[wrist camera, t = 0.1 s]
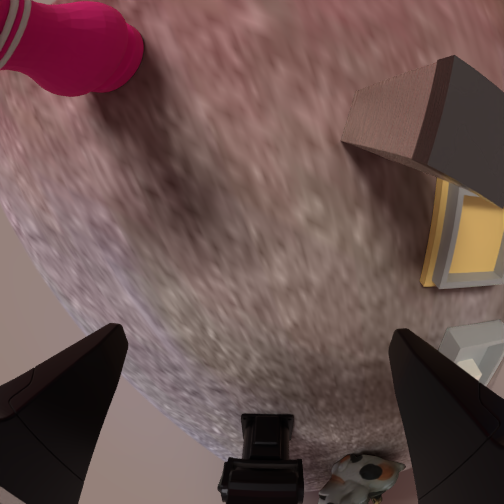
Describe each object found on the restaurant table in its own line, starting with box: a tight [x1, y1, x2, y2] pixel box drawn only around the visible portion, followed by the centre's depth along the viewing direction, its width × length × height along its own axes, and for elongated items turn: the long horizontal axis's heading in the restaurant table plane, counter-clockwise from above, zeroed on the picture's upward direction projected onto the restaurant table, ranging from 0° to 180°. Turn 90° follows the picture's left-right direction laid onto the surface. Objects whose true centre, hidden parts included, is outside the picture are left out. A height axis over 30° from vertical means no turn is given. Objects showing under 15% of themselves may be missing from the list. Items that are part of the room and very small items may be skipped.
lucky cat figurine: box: [318, 454, 406, 504], centre depth 33 cm, size 15×12×14 cm
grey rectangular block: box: [341, 55, 504, 209], centre depth 13 cm, size 4×4×13 cm
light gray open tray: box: [438, 319, 504, 386], centre depth 26 cm, size 12×9×4 cm
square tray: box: [420, 178, 504, 289], centre depth 20 cm, size 10×10×3 cm
